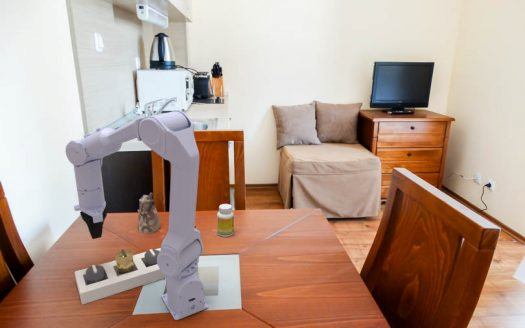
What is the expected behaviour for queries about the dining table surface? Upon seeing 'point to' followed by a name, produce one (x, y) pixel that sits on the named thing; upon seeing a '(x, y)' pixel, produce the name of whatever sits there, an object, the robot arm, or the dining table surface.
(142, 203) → the figurine
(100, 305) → the dining table surface
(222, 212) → the supplement bottle
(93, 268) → the black knob
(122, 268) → the brass knob middle
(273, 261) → the dining table surface
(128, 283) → the control deck
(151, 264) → the black knob
